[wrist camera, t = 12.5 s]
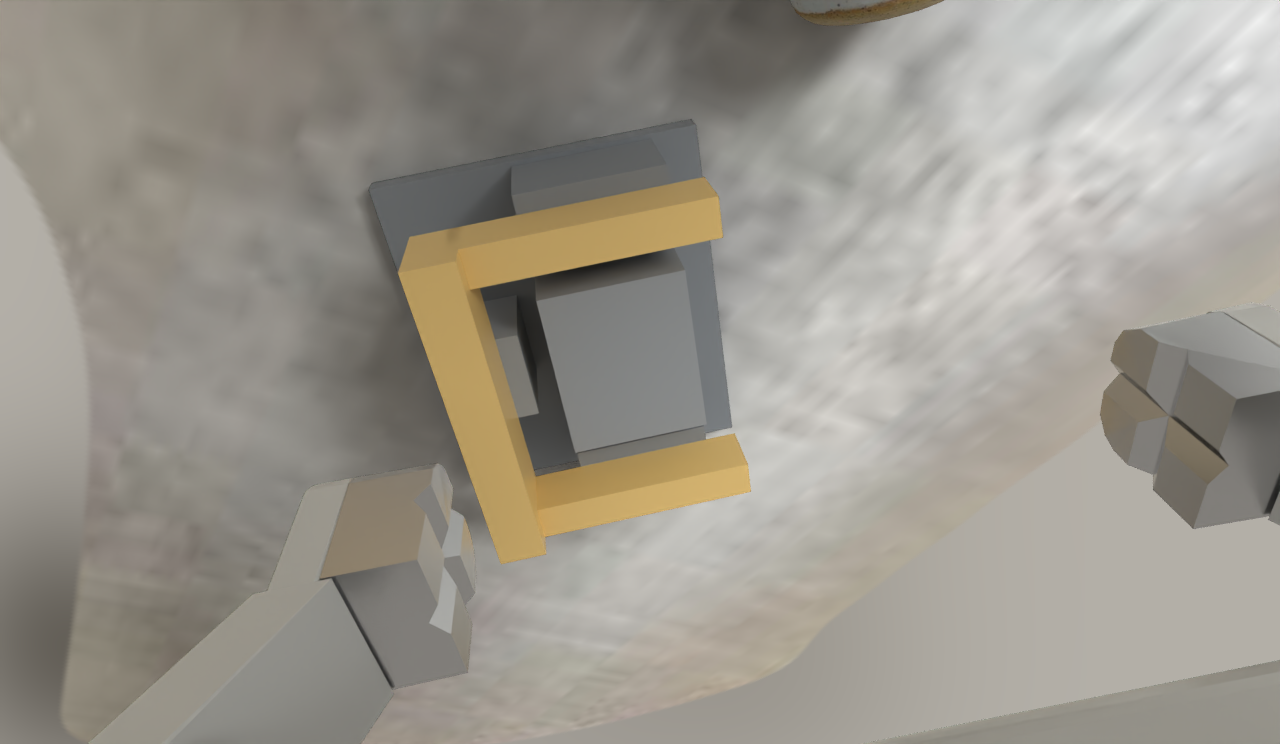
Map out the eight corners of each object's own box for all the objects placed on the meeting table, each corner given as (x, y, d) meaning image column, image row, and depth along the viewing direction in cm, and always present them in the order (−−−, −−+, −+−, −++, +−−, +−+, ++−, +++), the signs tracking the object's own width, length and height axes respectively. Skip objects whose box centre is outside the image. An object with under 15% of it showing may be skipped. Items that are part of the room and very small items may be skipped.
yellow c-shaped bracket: (704, 177, 30) (725, 206, 27) (737, 459, 37) (757, 507, 34) (409, 236, 29) (397, 273, 26) (501, 511, 37) (500, 564, 34)
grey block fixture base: (691, 119, 34) (723, 155, 28) (727, 416, 42) (757, 486, 37) (372, 183, 33) (346, 231, 28) (473, 471, 41) (467, 550, 36)
